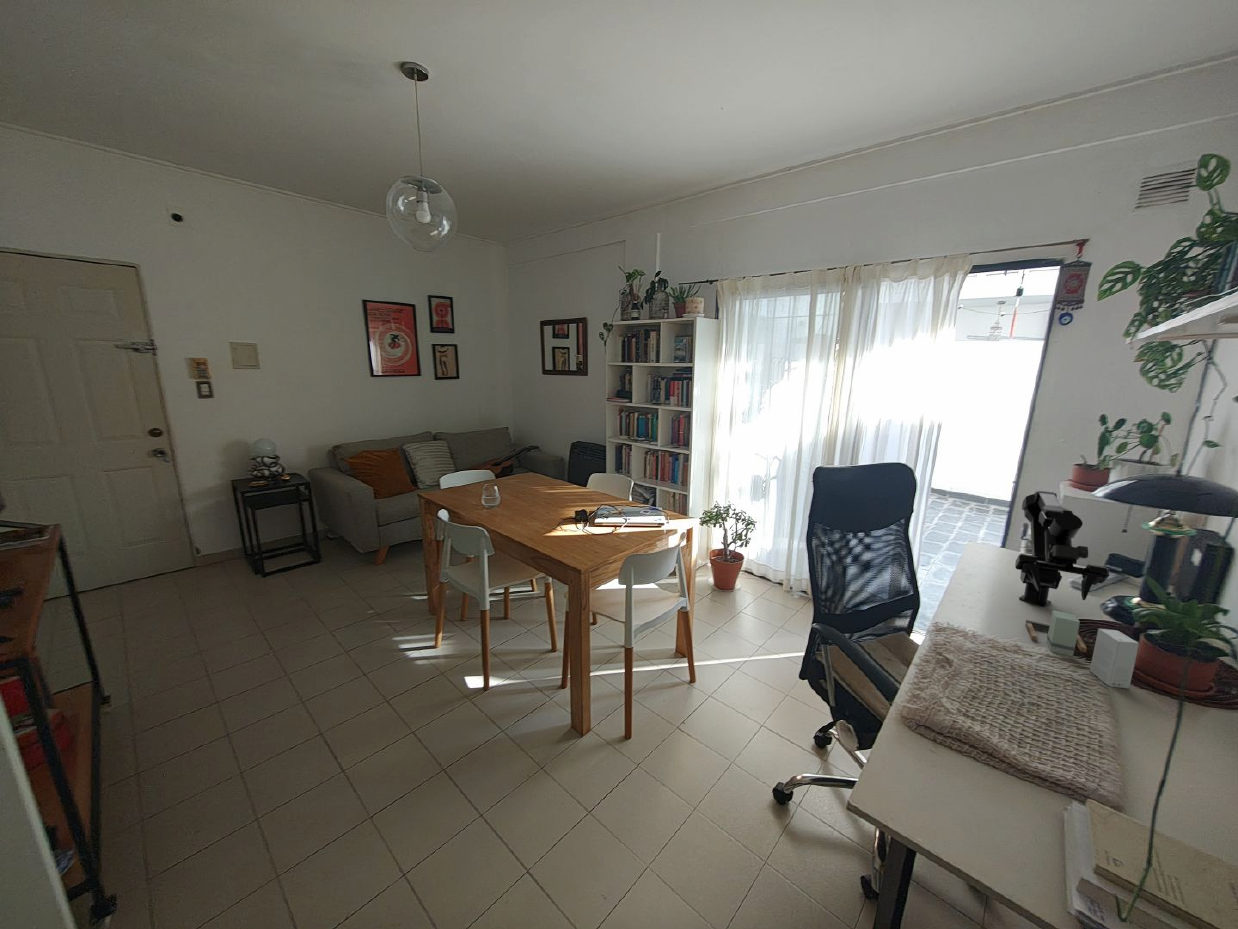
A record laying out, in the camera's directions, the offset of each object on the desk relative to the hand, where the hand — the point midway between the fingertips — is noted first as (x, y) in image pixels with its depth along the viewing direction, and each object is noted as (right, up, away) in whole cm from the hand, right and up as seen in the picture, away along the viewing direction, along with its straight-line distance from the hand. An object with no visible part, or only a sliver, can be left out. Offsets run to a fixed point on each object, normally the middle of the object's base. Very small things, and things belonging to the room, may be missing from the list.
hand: (1061, 595), depth 126 cm
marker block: (-4, -14, -3) cm, 15 cm away
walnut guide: (0, -13, +2) cm, 13 cm away
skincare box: (-4, -16, -16) cm, 23 cm away
